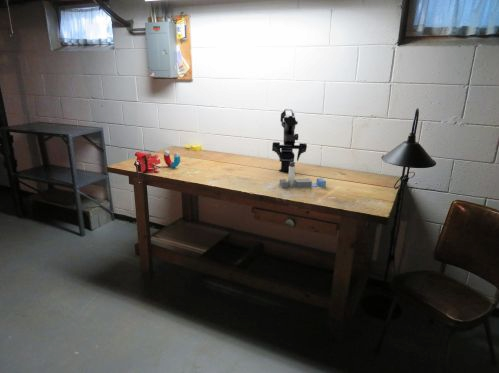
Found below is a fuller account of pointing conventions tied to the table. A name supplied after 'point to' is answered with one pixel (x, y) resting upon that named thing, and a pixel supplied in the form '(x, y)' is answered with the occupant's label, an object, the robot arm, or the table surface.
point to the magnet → (168, 160)
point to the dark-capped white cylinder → (291, 174)
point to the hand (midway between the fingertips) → (289, 160)
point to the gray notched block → (303, 183)
